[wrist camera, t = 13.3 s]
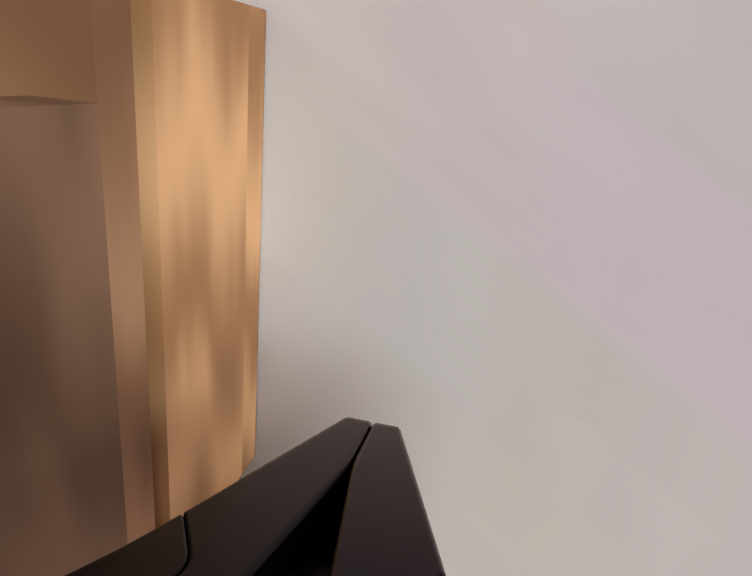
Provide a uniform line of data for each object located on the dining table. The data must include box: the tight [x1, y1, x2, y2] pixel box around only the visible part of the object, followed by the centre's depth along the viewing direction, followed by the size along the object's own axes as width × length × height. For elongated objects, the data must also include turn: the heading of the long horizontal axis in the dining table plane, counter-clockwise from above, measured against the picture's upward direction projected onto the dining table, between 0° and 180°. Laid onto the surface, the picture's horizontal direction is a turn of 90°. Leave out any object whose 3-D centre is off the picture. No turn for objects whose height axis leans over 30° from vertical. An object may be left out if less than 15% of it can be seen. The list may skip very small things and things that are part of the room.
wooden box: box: [130, 0, 266, 529], centre depth 15 cm, size 13×12×5 cm
